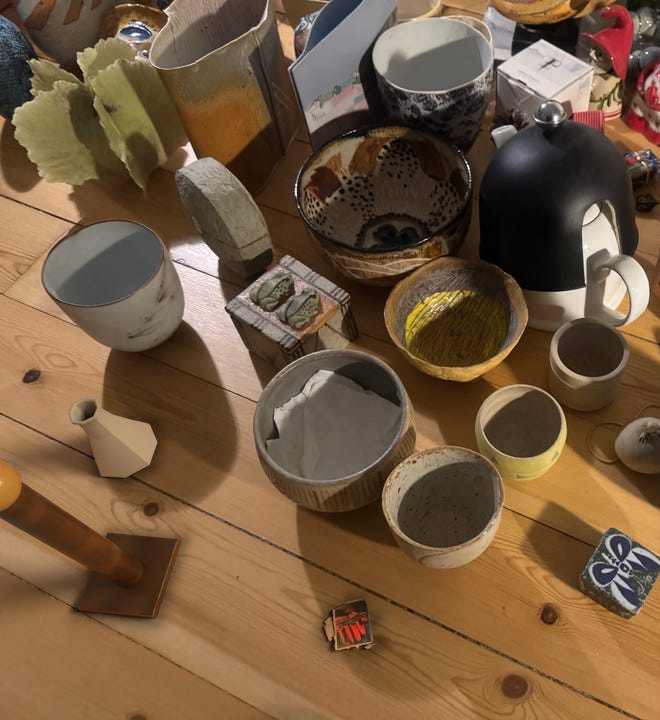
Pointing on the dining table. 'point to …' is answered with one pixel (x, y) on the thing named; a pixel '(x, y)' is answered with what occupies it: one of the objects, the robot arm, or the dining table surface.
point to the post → (94, 551)
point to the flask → (114, 439)
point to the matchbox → (350, 625)
